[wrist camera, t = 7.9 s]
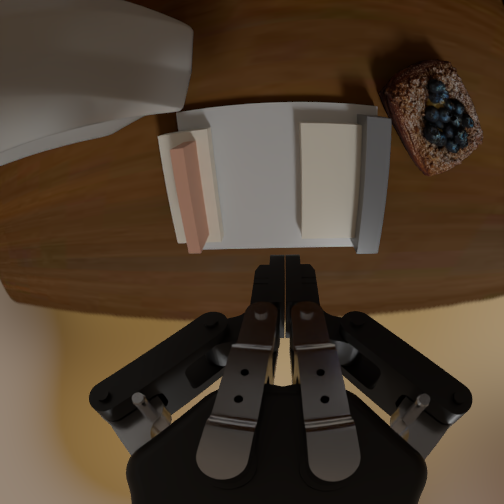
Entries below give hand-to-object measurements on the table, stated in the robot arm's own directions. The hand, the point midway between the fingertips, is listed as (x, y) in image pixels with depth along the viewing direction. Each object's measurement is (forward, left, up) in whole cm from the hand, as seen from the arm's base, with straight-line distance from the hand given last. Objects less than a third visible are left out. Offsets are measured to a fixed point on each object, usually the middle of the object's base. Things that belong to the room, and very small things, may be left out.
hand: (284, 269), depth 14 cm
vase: (+12, -13, -16) cm, 24 cm away
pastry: (-17, -8, -17) cm, 25 cm away
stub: (+9, 0, -15) cm, 18 cm away
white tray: (0, 0, -16) cm, 16 cm away
